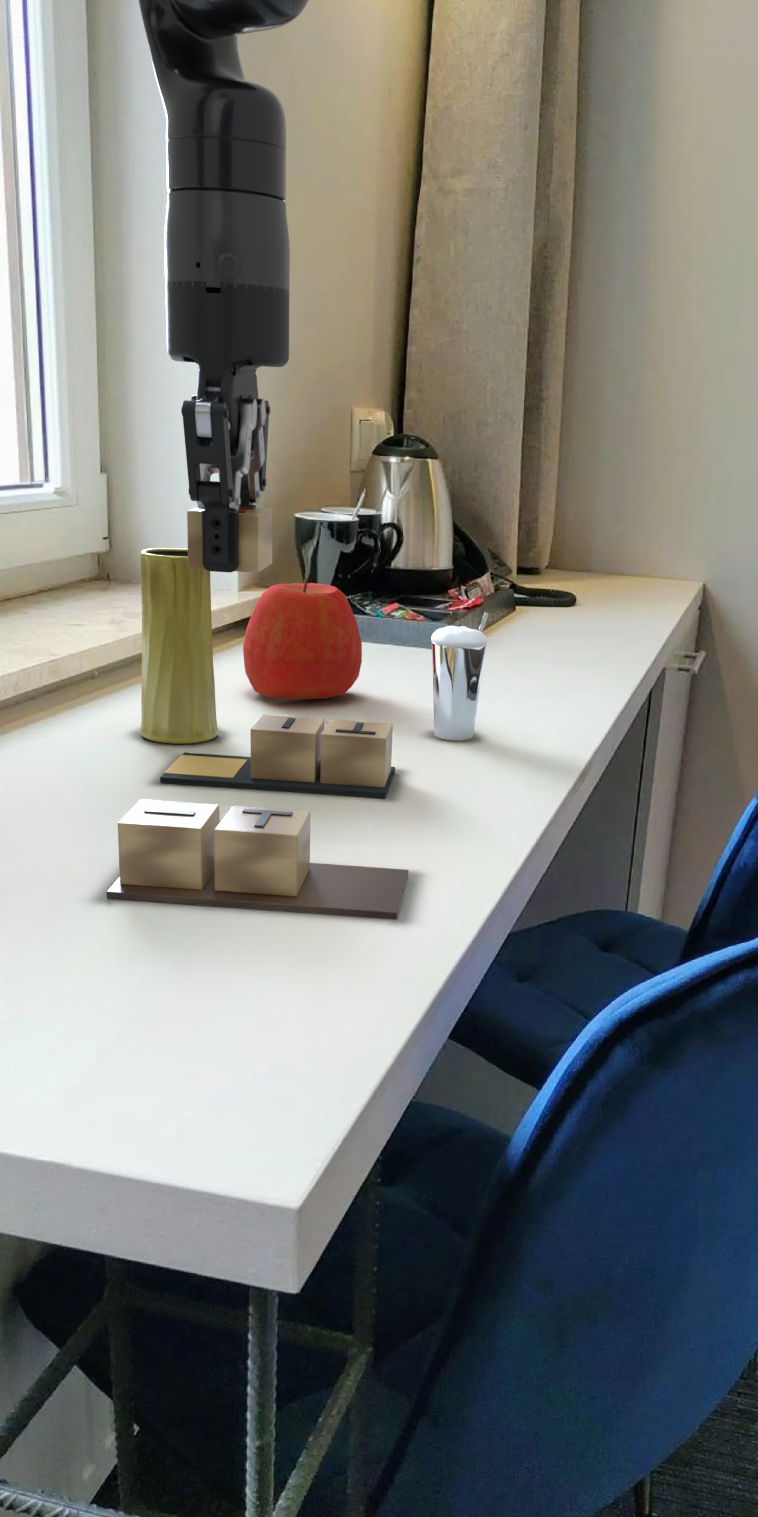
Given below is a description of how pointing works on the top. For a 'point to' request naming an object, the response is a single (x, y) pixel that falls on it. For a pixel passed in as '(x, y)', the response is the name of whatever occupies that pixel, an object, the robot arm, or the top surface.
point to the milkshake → (457, 679)
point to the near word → (242, 862)
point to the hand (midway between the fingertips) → (230, 564)
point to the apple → (302, 643)
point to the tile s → (251, 539)
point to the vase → (176, 649)
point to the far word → (299, 759)
